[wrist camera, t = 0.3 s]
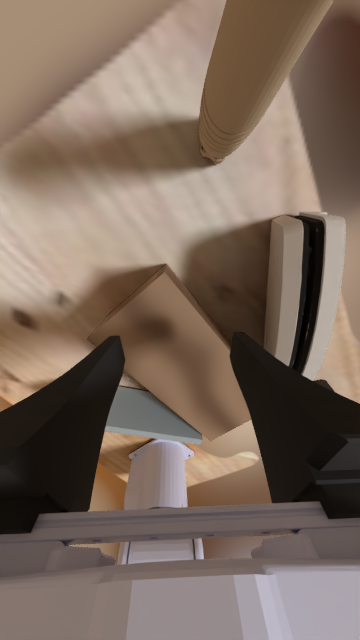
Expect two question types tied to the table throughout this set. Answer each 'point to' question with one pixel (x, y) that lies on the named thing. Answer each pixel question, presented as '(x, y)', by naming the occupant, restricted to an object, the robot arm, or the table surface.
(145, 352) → the cabinet
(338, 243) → the grey curved piece
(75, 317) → the table surface
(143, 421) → the door
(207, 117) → the handle
